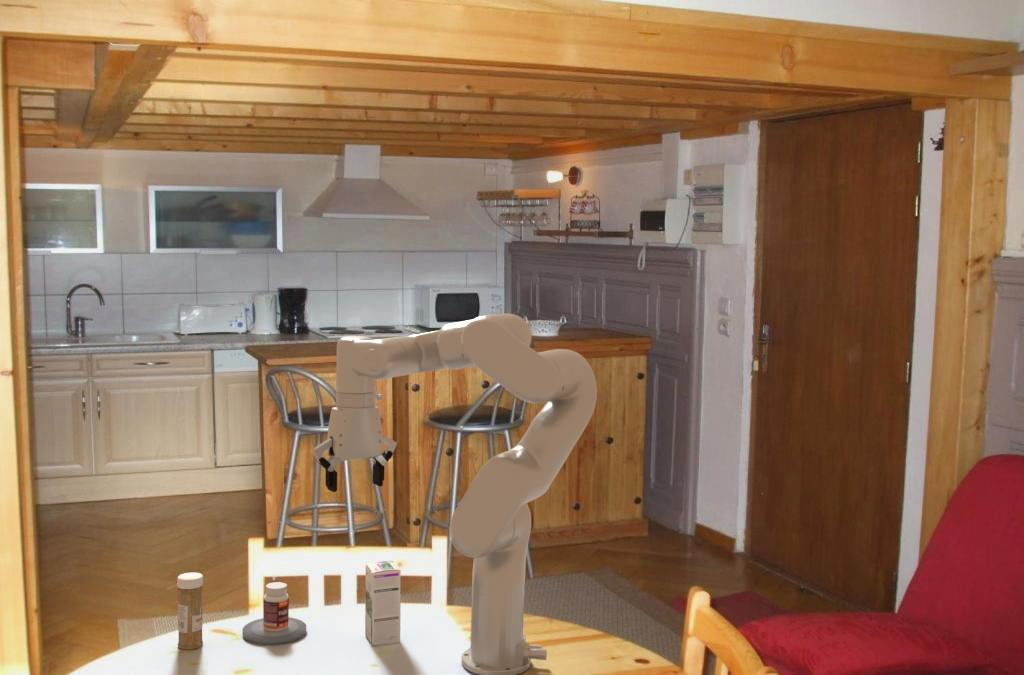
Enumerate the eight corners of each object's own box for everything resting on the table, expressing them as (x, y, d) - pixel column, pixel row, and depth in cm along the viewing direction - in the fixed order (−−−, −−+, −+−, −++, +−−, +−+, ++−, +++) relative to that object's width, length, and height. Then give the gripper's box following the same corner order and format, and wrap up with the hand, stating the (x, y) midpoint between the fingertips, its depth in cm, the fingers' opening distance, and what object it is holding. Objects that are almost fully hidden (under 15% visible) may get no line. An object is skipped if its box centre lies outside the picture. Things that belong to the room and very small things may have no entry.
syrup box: (401, 643, 196) (402, 568, 195) (370, 646, 194) (372, 571, 192) (393, 632, 201) (394, 559, 200) (363, 635, 199) (364, 562, 198)
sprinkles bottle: (204, 648, 191) (205, 577, 189) (179, 652, 189) (179, 580, 187) (200, 639, 195) (200, 570, 194) (175, 643, 193) (175, 573, 192)
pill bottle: (282, 633, 196) (282, 590, 195) (259, 630, 197) (259, 588, 196) (292, 624, 201) (293, 582, 200) (269, 621, 202) (270, 580, 201)
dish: (314, 624, 204) (314, 618, 204) (294, 647, 192) (294, 641, 192) (256, 619, 206) (256, 614, 206) (232, 642, 194) (232, 636, 194)
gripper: (387, 395, 207) (386, 479, 208) (306, 400, 198) (305, 488, 199) (404, 400, 201) (403, 486, 202) (321, 406, 191) (321, 497, 193)
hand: (355, 487), depth 201 cm, fingers open, 9 cm apart
